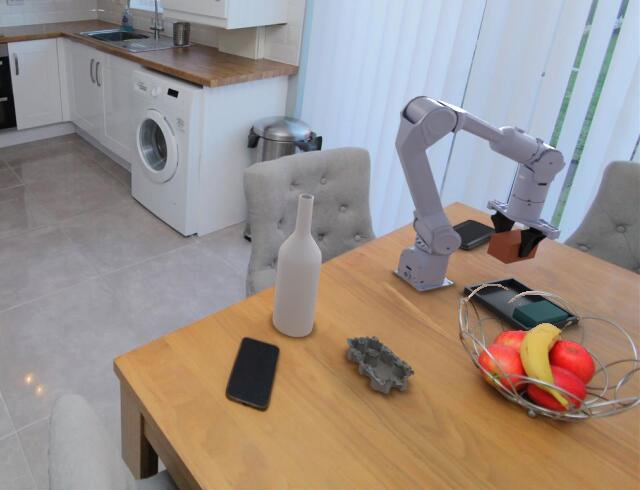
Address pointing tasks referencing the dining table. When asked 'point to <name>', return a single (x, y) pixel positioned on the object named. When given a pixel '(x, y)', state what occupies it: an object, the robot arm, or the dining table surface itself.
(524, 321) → the teal pad
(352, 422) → the dining table surface
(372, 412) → the dining table surface
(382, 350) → the egg carton
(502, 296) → the pad tray
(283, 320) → the bottle
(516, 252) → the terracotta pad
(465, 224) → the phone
